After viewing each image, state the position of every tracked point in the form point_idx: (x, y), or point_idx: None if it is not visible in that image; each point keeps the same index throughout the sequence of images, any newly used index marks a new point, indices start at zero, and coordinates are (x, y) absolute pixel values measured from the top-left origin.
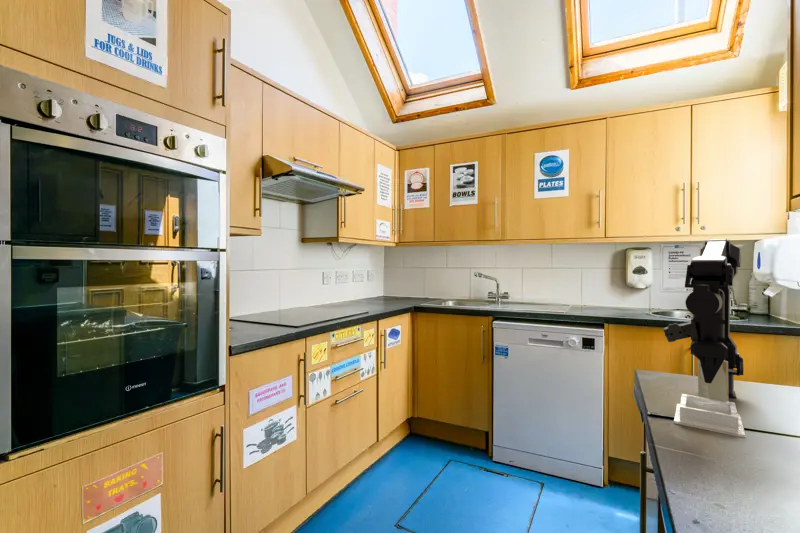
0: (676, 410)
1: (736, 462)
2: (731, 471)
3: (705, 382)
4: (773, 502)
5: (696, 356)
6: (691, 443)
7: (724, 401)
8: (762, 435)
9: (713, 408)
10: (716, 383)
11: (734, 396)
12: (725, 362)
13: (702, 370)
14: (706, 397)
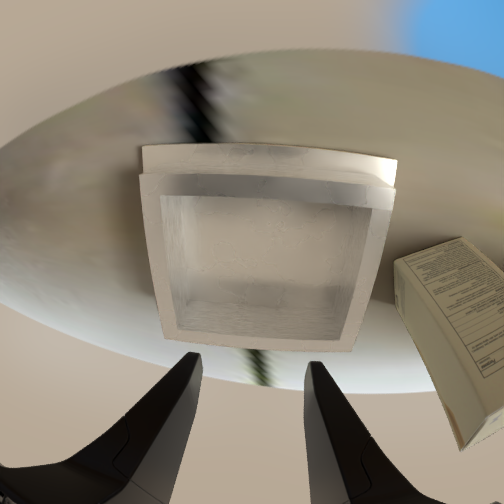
0: (288, 148)
1: (31, 270)
2: (4, 258)
3: (188, 352)
4: None
5: (26, 470)
6: (41, 201)
7: (349, 329)
8: (220, 346)
9: (344, 281)
10: (432, 348)
11: None
12: (461, 445)
13: (133, 407)
14: (423, 275)
